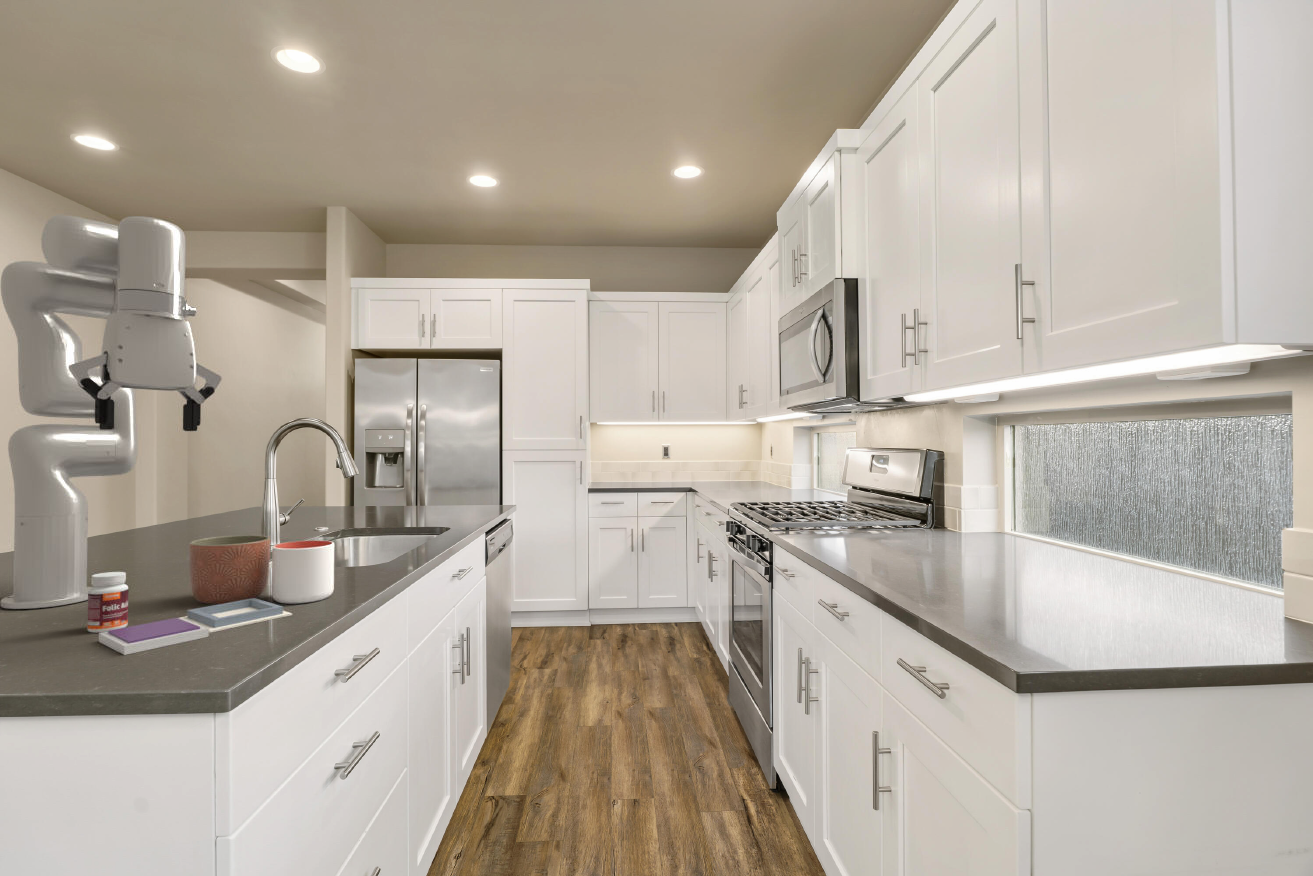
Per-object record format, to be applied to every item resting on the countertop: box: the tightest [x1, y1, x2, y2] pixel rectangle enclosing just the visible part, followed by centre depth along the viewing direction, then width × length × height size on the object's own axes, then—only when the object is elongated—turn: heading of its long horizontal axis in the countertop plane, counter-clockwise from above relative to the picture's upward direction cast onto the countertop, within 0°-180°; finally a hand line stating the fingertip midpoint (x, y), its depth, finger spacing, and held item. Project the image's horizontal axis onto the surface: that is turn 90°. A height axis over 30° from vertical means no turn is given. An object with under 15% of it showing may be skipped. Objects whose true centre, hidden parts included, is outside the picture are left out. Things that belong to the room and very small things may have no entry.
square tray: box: [179, 597, 293, 634], centre depth 105 cm, size 12×12×2 cm
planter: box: [188, 534, 272, 605], centre depth 117 cm, size 12×12×11 cm
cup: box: [271, 540, 335, 605], centre depth 118 cm, size 10×10×10 cm
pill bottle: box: [86, 571, 129, 634], centre depth 98 cm, size 5×5×8 cm
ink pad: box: [98, 617, 210, 656], centre depth 93 cm, size 10×10×2 cm
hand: (150, 430), depth 90 cm, fingers open, 9 cm apart
